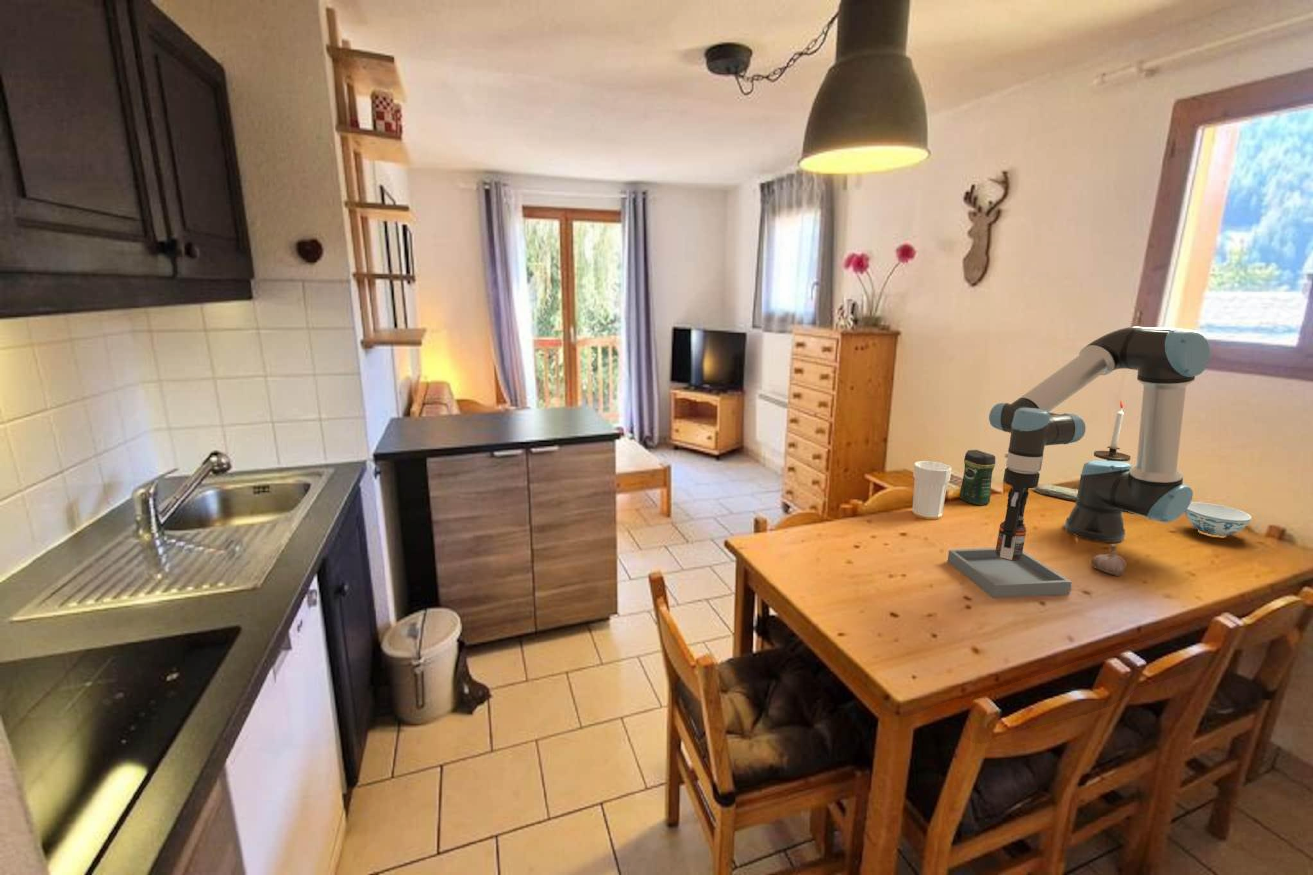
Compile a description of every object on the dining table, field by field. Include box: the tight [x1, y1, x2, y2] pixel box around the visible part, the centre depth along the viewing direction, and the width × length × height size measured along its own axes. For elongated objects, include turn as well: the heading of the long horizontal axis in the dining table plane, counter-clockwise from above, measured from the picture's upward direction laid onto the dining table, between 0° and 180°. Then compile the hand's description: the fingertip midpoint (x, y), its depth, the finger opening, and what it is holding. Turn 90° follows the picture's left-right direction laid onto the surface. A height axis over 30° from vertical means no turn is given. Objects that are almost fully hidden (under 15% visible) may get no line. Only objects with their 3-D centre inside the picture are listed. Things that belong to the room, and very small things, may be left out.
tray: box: [947, 547, 1072, 599], centre depth 153 cm, size 20×20×4 cm
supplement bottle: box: [995, 516, 1027, 561], centre depth 151 cm, size 6×6×11 cm
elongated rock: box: [1034, 483, 1126, 512], centre depth 208 cm, size 35×5×10 cm
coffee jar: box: [959, 449, 996, 506], centre depth 207 cm, size 10×8×19 cm
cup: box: [911, 460, 952, 521], centre depth 194 cm, size 11×11×17 cm
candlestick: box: [1093, 400, 1132, 462], centre depth 215 cm, size 11×11×35 cm
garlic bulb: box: [1090, 543, 1127, 577], centre depth 156 cm, size 8×7×8 cm
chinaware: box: [1184, 502, 1252, 536], centre depth 180 cm, size 15×15×8 cm
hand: (1008, 553), depth 152 cm, fingers closed on supplement bottle, 6 cm apart
